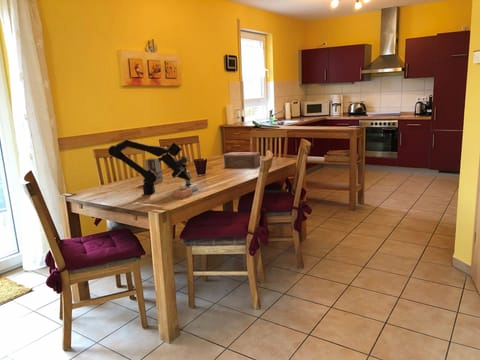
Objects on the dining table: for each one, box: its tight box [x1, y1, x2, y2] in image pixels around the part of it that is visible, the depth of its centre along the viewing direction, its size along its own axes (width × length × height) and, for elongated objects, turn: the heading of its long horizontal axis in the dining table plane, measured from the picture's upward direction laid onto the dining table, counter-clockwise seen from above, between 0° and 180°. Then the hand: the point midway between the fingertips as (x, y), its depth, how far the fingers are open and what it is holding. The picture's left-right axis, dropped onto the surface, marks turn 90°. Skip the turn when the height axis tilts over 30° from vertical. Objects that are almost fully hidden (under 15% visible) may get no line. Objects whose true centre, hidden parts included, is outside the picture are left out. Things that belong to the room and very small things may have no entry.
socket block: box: [178, 182, 199, 192], centre depth 234 cm, size 8×8×4 cm
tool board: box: [162, 188, 207, 200], centre depth 229 cm, size 22×16×1 cm
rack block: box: [172, 187, 193, 198], centre depth 223 cm, size 8×8×4 cm
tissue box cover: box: [223, 151, 261, 168], centre depth 313 cm, size 26×14×10 cm, turn 71°
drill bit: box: [185, 170, 192, 186], centre depth 233 cm, size 3×3×12 cm
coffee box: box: [144, 157, 164, 184], centre depth 267 cm, size 9×6×16 cm
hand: (190, 179), depth 233 cm, fingers closed on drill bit, 3 cm apart
